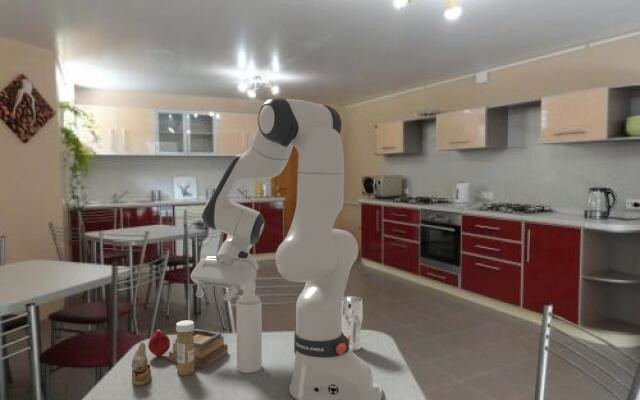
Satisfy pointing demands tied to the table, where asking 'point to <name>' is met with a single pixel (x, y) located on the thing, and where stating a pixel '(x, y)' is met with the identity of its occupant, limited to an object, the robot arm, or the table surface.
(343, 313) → the beer glass
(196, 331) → the brown wooden square tray
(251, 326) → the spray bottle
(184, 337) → the sprinkles bottle
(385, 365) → the table surface
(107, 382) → the table surface
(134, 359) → the chocolate bunny
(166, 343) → the onion
